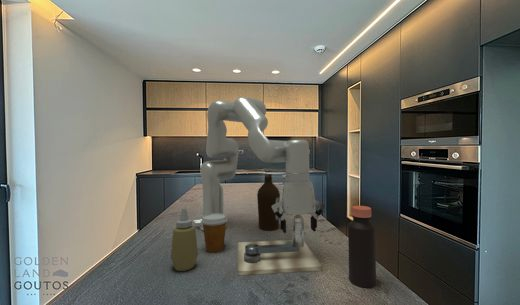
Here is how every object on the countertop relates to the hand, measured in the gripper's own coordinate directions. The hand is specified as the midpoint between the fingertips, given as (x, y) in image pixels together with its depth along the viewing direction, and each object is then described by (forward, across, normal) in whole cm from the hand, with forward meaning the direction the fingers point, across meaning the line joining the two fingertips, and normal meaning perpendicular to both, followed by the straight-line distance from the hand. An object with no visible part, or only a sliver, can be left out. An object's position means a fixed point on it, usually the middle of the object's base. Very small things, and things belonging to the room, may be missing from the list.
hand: (298, 230), depth 77 cm
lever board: (+10, -7, +4) cm, 13 cm away
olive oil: (+10, -5, +35) cm, 37 cm away
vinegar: (+10, +14, -14) cm, 22 cm away
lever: (+6, -8, 0) cm, 10 cm away
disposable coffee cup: (+10, -28, +13) cm, 33 cm away
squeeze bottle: (+10, -36, 0) cm, 37 cm away
